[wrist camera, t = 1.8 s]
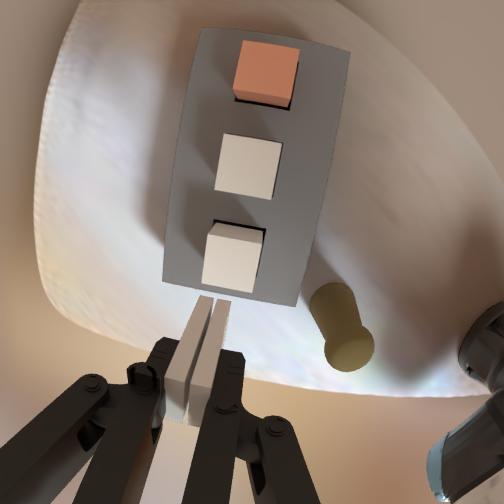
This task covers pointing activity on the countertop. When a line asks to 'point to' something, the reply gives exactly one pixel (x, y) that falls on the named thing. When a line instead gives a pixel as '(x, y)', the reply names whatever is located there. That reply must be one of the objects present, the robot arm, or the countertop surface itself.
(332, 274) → the countertop surface
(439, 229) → the countertop surface
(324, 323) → the cork
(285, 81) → the terracotta button
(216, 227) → the cream square button
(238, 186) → the cream white cube
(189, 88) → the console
